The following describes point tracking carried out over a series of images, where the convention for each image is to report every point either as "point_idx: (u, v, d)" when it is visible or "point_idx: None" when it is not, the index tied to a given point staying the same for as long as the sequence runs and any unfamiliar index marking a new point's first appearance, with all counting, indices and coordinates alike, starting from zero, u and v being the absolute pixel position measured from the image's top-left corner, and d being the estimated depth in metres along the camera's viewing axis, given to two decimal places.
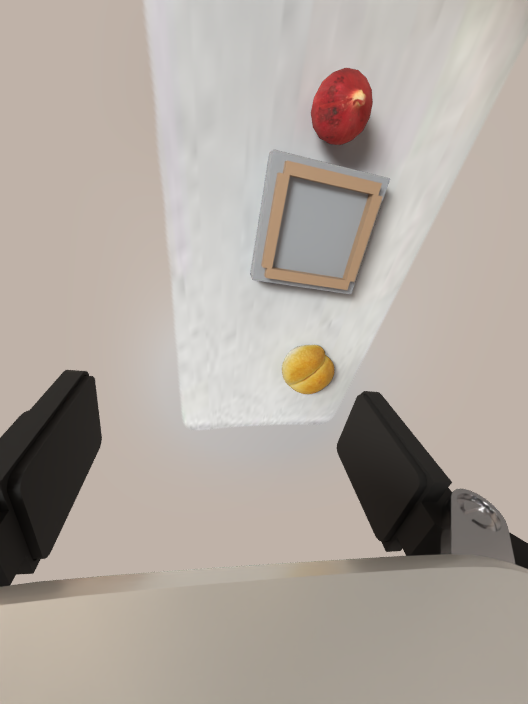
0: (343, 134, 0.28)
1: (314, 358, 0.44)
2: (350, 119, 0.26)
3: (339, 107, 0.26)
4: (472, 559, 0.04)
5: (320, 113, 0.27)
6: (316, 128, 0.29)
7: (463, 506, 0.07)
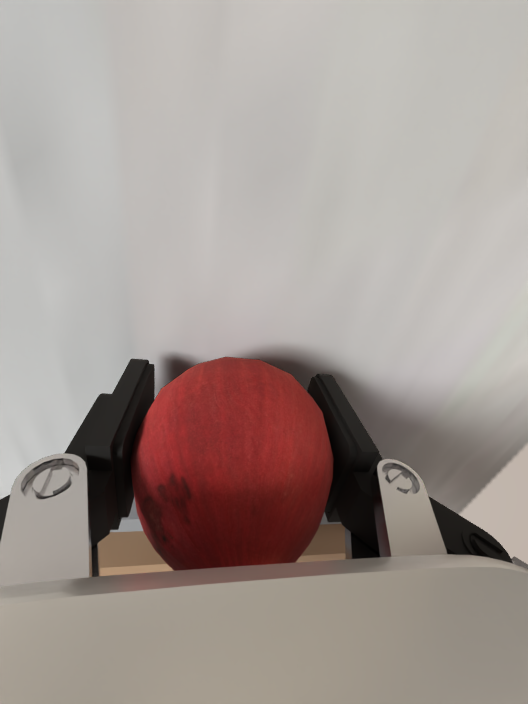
0: None
1: None
2: None
3: None
4: (472, 559, 0.04)
5: None
6: None
7: (388, 476, 0.07)
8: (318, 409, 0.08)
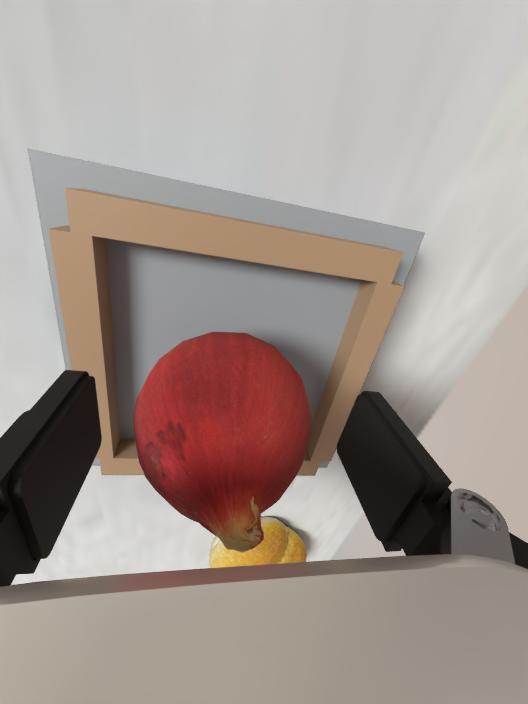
0: None
1: (262, 560, 0.22)
2: None
3: (181, 512, 0.07)
4: (472, 559, 0.04)
5: None
6: None
7: (463, 506, 0.07)
8: (298, 375, 0.09)
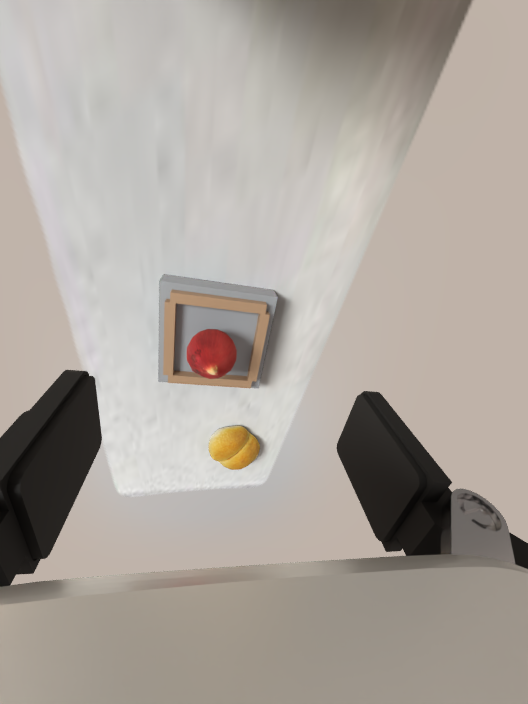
0: None
1: (234, 442, 0.46)
2: (211, 377, 0.31)
3: (199, 371, 0.31)
4: (472, 559, 0.04)
5: None
6: None
7: (463, 506, 0.07)
8: (232, 341, 0.33)
